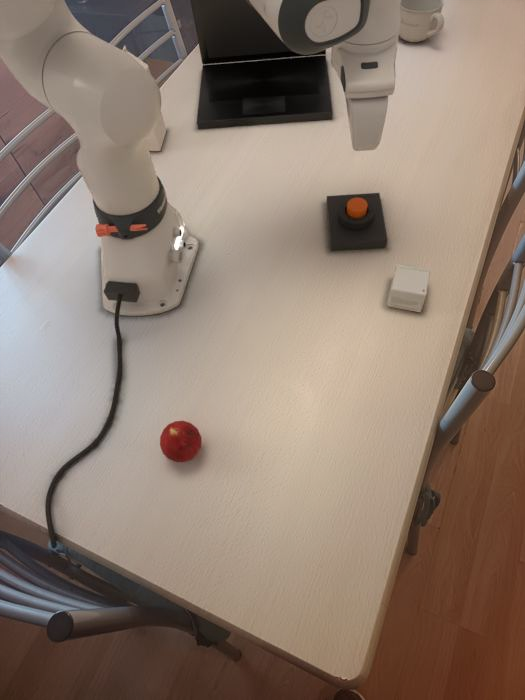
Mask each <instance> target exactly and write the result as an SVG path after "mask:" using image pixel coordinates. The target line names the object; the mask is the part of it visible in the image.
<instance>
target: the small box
mask: <svg viewBox="0 0 525 700" xmlns="http://www.w3.org/2000/svg"><path fill="white" fill-rule="evenodd" d="M430 273H431V269H430V268H424V267H418V266H411V265H406V264H399V263H396V265H395V269H394V273H393V277H392V281H391V284H390V288H389V292H388V298H387V303H386V306H387V307H388V308H389V307H390V308H394V309H400V310H404V311H405V310H406V311H411V312H415V313H421V311H422V310H423V306H424V303H425V300H426V297H427V295H428V294H427V293H428V288H429V287H428V286H429V280H430Z"/></svg>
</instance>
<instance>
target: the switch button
mask: <svg viewBox="0 0 525 700" xmlns="http://www.w3.org/2000/svg"><path fill="white" fill-rule="evenodd" d="M367 206H368V204H367V202H366V200H364V199H362V198H352V199H350V200H349V201H348V203H347V214H348V216H350V217H352V218H355V219H356V218H362V217H364V216H365V215H366V213H367Z"/></svg>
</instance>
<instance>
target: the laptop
mask: <svg viewBox="0 0 525 700" xmlns="http://www.w3.org/2000/svg"><path fill="white" fill-rule="evenodd" d="M327 61H328V60H327V54H326V55H314V56H302V57H289V58H277V59H265V60H253V61H241V62H229V63H216V64H204V65H203V64H202V68H201V76H200V77H201V80H200V86H199V87H200V88H199V98H198V106H197V118H196V125H197V129H198V130H203V129H204V130H205V129H216V128H218V129H219V128H232V127H243V126H245V127H246V126H259V125H272V124H273V125H274V124H284V123H285V124H287V123H298V122H299V123H300V122H312V121H327V120H333V105H332V95H331V88H330V79H329V78H330V77H329V71H328V70H329V69H328V62H327Z"/></svg>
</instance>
